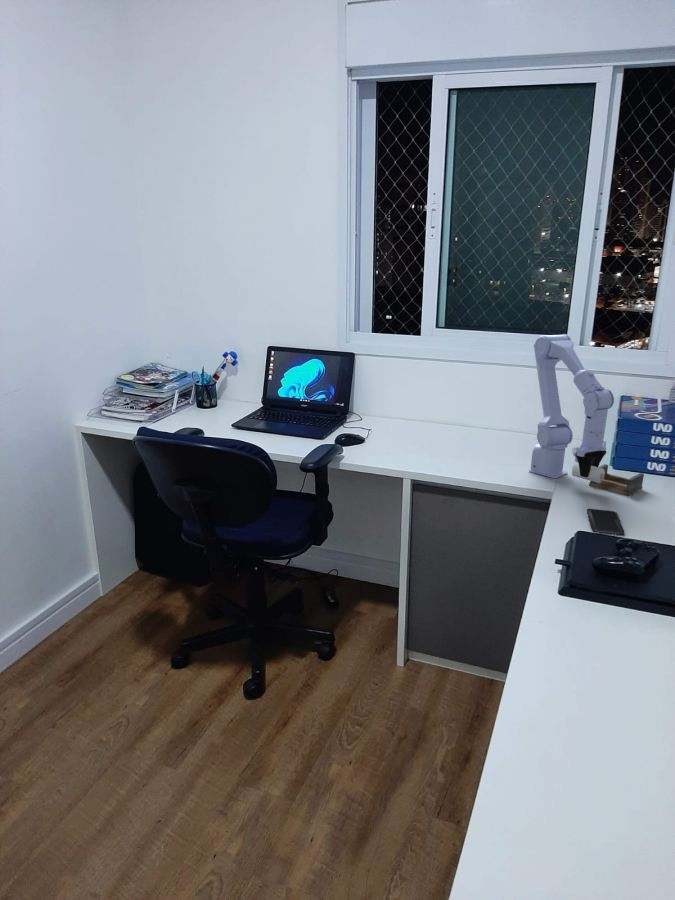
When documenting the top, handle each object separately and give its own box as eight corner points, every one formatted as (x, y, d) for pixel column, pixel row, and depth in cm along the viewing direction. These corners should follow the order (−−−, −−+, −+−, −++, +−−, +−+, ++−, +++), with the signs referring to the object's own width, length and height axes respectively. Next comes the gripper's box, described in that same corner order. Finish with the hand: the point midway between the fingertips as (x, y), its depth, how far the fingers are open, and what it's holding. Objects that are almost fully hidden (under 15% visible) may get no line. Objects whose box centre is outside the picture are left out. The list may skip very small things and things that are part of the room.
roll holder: (589, 485, 204) (591, 470, 202) (602, 479, 210) (604, 464, 208) (629, 496, 195) (632, 480, 194) (642, 489, 201) (644, 473, 200)
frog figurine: (572, 461, 226) (574, 442, 224) (593, 465, 223) (596, 445, 221) (568, 466, 221) (570, 446, 219) (590, 470, 218) (593, 449, 216)
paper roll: (571, 477, 200) (573, 463, 199) (578, 474, 203) (579, 460, 202) (596, 484, 195) (599, 470, 193) (603, 481, 198) (605, 467, 196)
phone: (592, 529, 170) (586, 508, 184) (591, 533, 170) (586, 511, 184) (625, 533, 168) (617, 511, 182) (624, 537, 168) (616, 515, 182)
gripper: (596, 438, 187) (589, 483, 191) (618, 429, 196) (611, 472, 201) (572, 432, 192) (566, 477, 196) (595, 424, 201) (589, 466, 205)
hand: (587, 474), depth 198 cm, fingers closed on paper roll, 4 cm apart
